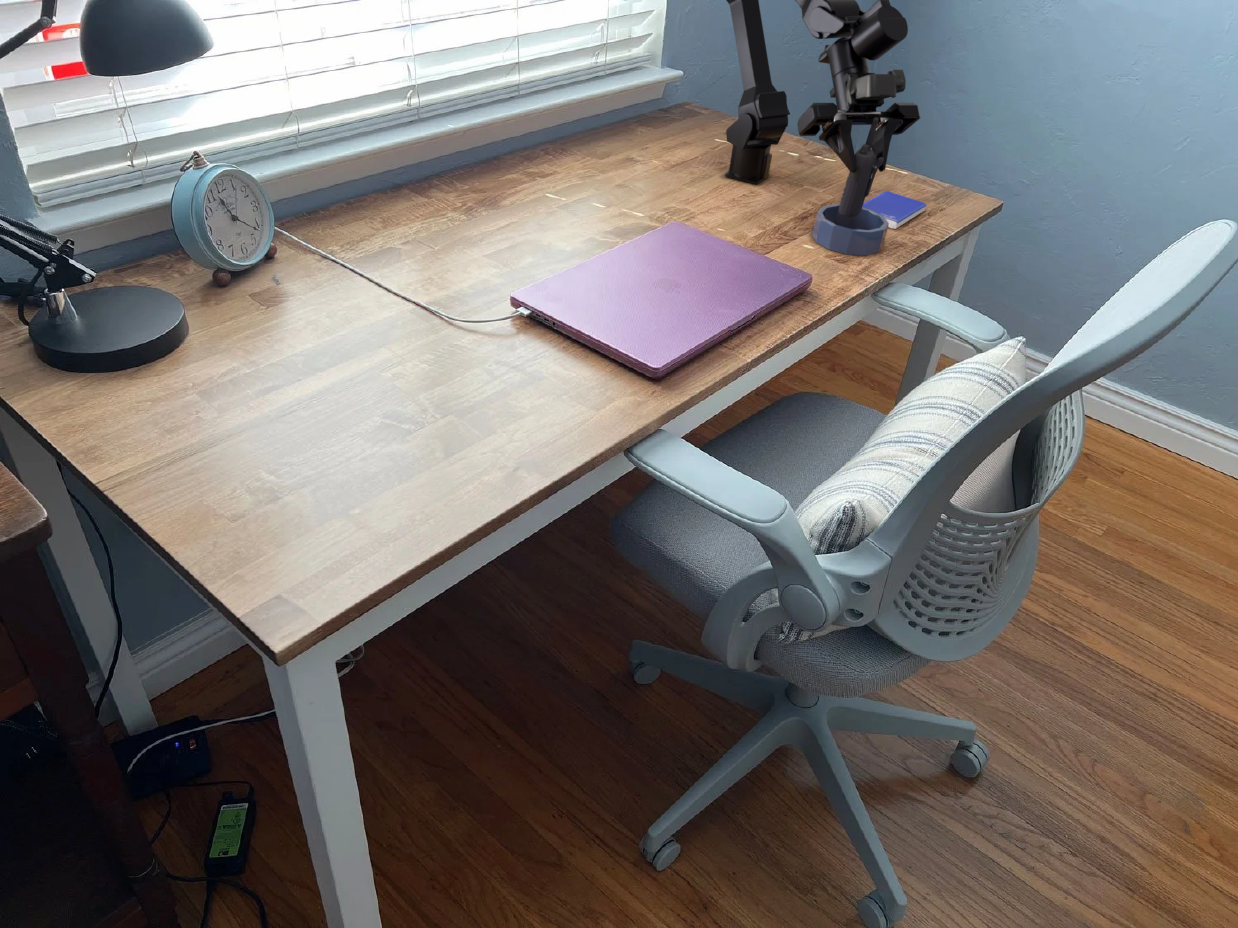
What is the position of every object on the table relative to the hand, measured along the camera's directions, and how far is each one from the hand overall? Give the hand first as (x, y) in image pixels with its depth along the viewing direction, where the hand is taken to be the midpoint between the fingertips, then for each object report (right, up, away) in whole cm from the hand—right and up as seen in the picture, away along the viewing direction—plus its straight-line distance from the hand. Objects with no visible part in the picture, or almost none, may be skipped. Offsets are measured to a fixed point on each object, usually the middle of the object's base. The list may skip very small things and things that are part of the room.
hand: (868, 171), depth 147 cm
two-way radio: (-1, -5, +6) cm, 8 cm away
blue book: (+9, -1, +20) cm, 22 cm away
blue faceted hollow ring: (-1, -9, +8) cm, 12 cm away
